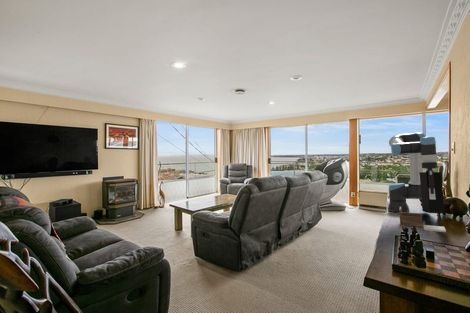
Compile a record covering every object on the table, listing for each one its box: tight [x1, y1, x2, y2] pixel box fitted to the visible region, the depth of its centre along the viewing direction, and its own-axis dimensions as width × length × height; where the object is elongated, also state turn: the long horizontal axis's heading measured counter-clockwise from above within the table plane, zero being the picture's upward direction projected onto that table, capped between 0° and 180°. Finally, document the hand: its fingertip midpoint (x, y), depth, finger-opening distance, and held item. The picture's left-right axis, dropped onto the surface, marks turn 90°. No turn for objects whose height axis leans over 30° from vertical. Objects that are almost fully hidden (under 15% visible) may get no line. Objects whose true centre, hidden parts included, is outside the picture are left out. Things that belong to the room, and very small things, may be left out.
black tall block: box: [419, 171, 445, 214], centre depth 147 cm, size 8×8×28 cm
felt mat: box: [423, 224, 447, 233], centre depth 146 cm, size 10×10×1 cm
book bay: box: [398, 207, 424, 228], centre depth 161 cm, size 13×12×10 cm
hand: (432, 198), depth 147 cm, fingers closed on black tall block, 9 cm apart
